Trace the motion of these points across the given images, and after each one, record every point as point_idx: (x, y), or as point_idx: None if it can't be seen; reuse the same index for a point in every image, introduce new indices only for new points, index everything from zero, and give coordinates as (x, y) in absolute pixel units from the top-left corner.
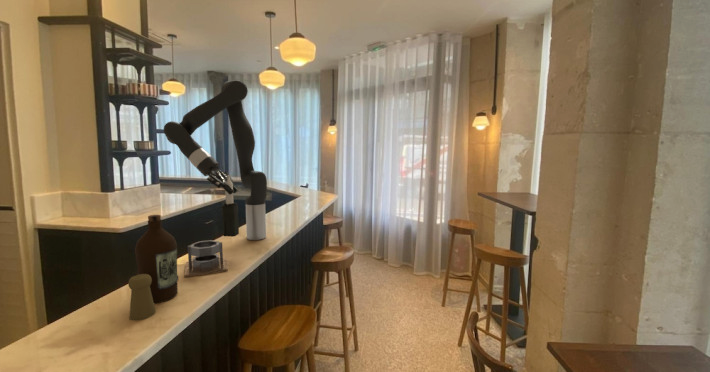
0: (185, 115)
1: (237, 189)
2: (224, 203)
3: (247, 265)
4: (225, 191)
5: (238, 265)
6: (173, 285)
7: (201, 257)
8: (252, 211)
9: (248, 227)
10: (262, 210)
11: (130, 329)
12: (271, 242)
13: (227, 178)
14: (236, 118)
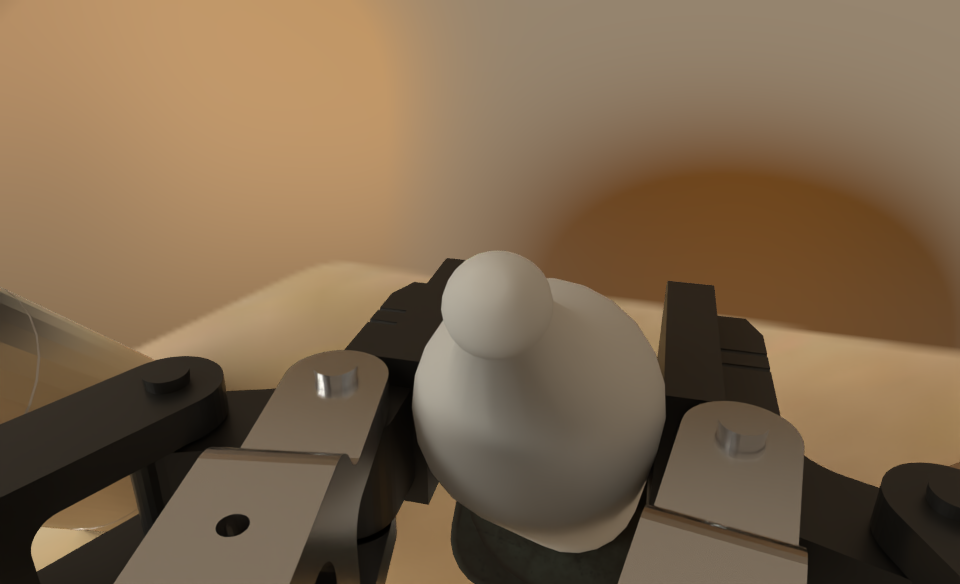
0: None
1: (459, 260)
2: (604, 577)
3: (840, 340)
4: (605, 529)
5: (847, 407)
6: None
7: None
8: (32, 398)
9: (129, 486)
10: (11, 295)
11: None
12: (300, 297)
13: (555, 378)
14: None
